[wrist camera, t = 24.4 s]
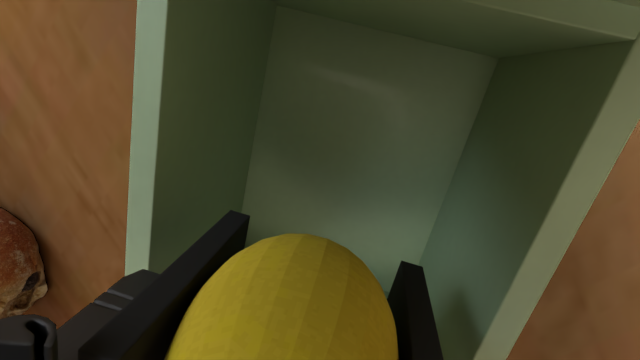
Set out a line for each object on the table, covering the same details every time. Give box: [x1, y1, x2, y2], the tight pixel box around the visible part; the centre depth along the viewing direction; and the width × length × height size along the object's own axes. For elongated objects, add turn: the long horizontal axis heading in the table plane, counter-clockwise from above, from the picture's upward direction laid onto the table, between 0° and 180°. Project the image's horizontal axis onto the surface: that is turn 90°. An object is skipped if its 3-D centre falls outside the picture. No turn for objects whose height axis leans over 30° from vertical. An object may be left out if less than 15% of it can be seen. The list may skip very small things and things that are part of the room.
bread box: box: [125, 0, 640, 360], centre depth 15 cm, size 16×13×10 cm
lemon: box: [164, 233, 399, 360], centre depth 9 cm, size 6×6×8 cm
